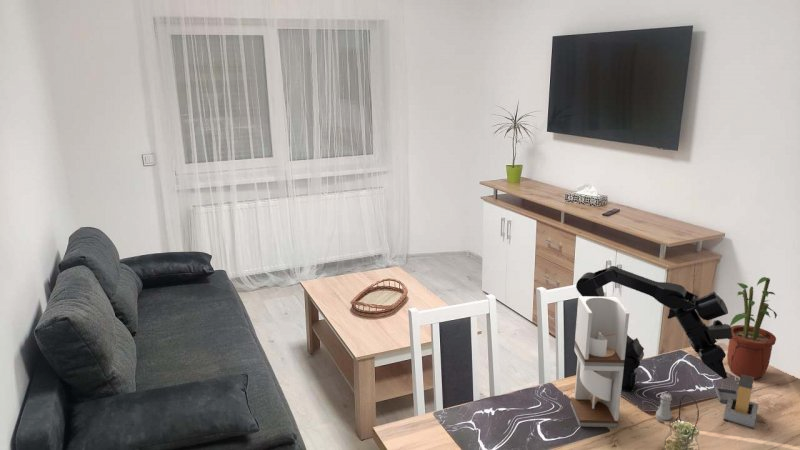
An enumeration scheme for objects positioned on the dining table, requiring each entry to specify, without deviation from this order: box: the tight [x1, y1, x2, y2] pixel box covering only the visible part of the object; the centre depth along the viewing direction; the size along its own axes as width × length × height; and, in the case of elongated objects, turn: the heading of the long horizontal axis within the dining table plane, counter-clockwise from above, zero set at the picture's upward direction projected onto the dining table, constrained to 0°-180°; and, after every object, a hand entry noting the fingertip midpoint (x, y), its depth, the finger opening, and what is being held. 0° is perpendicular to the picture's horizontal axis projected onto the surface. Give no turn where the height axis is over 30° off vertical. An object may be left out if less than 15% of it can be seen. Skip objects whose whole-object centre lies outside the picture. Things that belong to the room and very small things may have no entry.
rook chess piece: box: [654, 391, 673, 424], centre depth 164 cm, size 4×4×8 cm
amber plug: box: [735, 374, 755, 414], centre depth 162 cm, size 3×4×12 cm
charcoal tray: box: [714, 386, 738, 404], centre depth 173 cm, size 6×7×2 cm
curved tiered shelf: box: [569, 295, 630, 428], centre depth 162 cm, size 11×11×35 cm
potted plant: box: [726, 276, 778, 380], centre depth 184 cm, size 17×16×35 cm
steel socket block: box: [723, 396, 760, 430], centre depth 163 cm, size 7×8×4 cm
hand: (721, 372), depth 165 cm, fingers open, 9 cm apart
